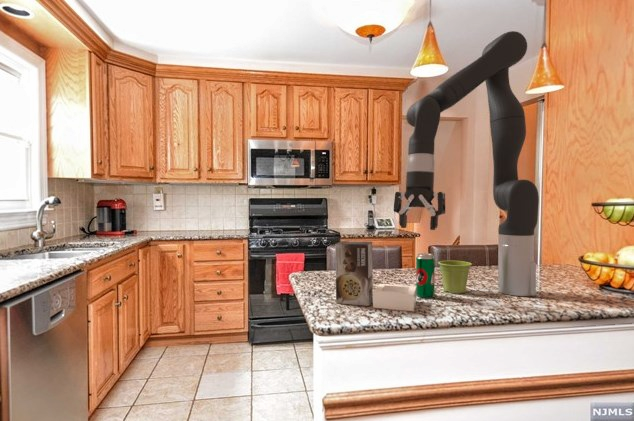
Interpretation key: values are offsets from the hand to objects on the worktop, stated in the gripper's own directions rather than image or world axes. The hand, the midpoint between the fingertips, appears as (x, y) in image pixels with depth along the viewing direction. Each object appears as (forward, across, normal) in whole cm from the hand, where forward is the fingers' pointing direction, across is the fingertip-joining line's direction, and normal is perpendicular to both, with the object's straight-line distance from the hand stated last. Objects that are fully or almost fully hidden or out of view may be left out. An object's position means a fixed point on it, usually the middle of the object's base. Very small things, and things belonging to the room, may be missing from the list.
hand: (417, 228), depth 102 cm
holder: (+20, +1, +10) cm, 22 cm away
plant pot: (+19, -7, -14) cm, 24 cm away
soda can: (+19, -2, -3) cm, 20 cm away
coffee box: (+20, +11, +14) cm, 27 cm away
